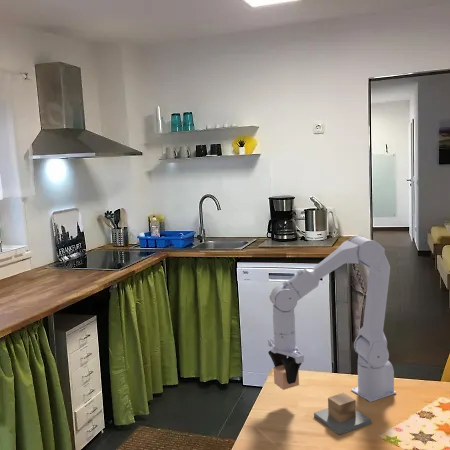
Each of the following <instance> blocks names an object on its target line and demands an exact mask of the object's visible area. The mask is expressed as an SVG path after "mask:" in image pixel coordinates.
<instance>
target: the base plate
mask: <svg viewBox="0 0 450 450" xmlns="http://www.w3.org/2000/svg"><path fill="white" fill-rule="evenodd" d="M313 416H314V418H316V419H317V420H318V421H320V422H321V423H323V424H324V425H325V426H327V427H328V428H329V429H330V430H332V431H333V432H334V433H336V434H337V435H339V436H340V435H344V434H345V433H348V432H351V431H354V430H356V429H360V428H362V427H365V426H367V425H371V424H372V419H371V418H370V417H369V416H367V415H365V414H364V413H362V412H360V411H359V410H357V409H356V417H355V418H352V419H349V420H347V421H344V422H341V423H339V422H338V421H337V420H335V419H334V418H332V417H331V416H329V415H328V407H327V408H324V409H321V410H318V411H315V412H313Z"/></svg>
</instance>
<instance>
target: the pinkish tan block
mask: <svg viewBox="0 0 450 450" xmlns="http://www.w3.org/2000/svg"><path fill="white" fill-rule="evenodd" d="M299 371H300V369H299V370H298V373H297V378H296V382H295V383H292V384H288V382H287V378H286V371H285V367H284V365H280V366H277V367H275V366H274V367H273V378H274V379H273V383H274V384H275V385H276V386H277V387H278V388H280V389H282V390H283V391H284V390H288V389H291V388H294V387H297V386H300V376H299V375H300V374H299V373H300V372H299Z"/></svg>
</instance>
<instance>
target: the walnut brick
mask: <svg viewBox="0 0 450 450" xmlns="http://www.w3.org/2000/svg"><path fill="white" fill-rule="evenodd" d="M356 403H357V402H356V399H355V398H354V397H352V396H351V395H348V394H347V393H345V392H342V393H338V394H335V395H333V396H330V397H327V408H328V415H329V416H331V417H332V418H334V419H335V420H337V421H338V422H339V423H341V422H344V421H347V420H349V419H352V418H355V417H356V410H357V409H356V407H357V406H356Z"/></svg>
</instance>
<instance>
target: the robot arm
mask: <svg viewBox="0 0 450 450" xmlns="http://www.w3.org/2000/svg"><path fill="white" fill-rule="evenodd" d="M385 251H386V249H385V247H383V246H382V245H381V244H380V243H379V242H377V240H373V239H369V238H366V237H364V236H363V235H359V234H357V235H353V236H351V237H350V238H349V239H347V240H345V241H343V242H342V243H341V244H340V245H339V246H338V247H337V248H336V249H335V250H334V251H333V252H331V253H330V254H329V255H327V256H326V257H325V258H324V259H323V260H321V261H320V262H318V263H317V264H316V265H315V266H313V268H303V269H301V268H299V270H297V271H296V273H297V274H296V275H294V276H292V277H291V278H290V279H288V280H287V281H283V282H282V285H276V286H275V287H273V288H272V290H271V292H270V295H269V296H268V297H269V300H270V302H271V303H272V304H273V305H272V312H273V313H272V323H273V326H272V327H273V338H268V339H267V345H268V347H272V348H270V350H269V351H267V352H268V355H269V357H270V358H271V360H272V364H273V366H274V367H277V366H280V365H284V367H285V371H286V378H287V382H288V384H292V383H295V382H296V378H297V373H298V370H299V371H300V367H301V365H302V364H303V363H304V362H305V355H304V354H303V352H301V351H300V349H299V347H298V346H297V345H296V343H297V341H296V340H297V339H296V322H295V321H296V317H295V316H296V315H295V308H296V306H297V305H298V302H299V300H301V299H303V298H304V297H305V296H307V295H308V294H310V293H312V291H314V289H316V288H318V287H319V284H320V280H321V279H322V278H324V277H326V276H327V275H329V274H330V273H332V272H334V271H335V270H337V269H338V268H340V267H342V266H343V265H344V264H360V263H361V264H362V265H363V266H364V267H365V268H366V270H368V276H367V277H368V279H367V289H366V297H365V306H364V313H363V314H364V315H363V324H362V327H361V328H360V329H358V334H357V337H356V338H355V340H354V342H353V348H354V351H355V353H356V354H357V387H352V388H351V392H353V393H354V394H356V395H358V396H359V397H361V398H362V399H364V400H366V401H368V402H370V403H372V402H374V401H378V400H380V399H381V400H382V399H383V398H387V397H389V396H393V395H396V394H397V391H396V390H395V371H394V367H393V364H392V362H391V361H390V360H389V358H390V354H389V353H390V352H389V350H388V341H387V337H386V334H385V332H384V326H385V318H386V309H387V300H388V292H389V284H390V274H391V264H390V263H389V260H388V258H387V256H386V253H385Z"/></svg>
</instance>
